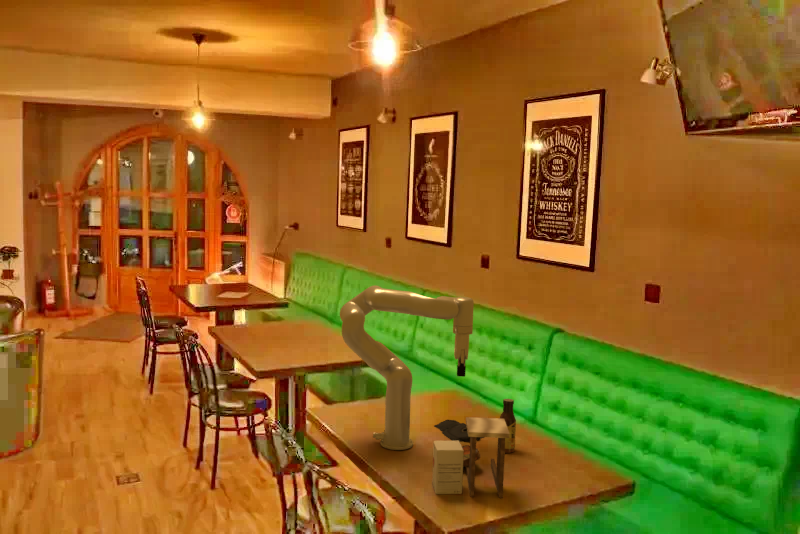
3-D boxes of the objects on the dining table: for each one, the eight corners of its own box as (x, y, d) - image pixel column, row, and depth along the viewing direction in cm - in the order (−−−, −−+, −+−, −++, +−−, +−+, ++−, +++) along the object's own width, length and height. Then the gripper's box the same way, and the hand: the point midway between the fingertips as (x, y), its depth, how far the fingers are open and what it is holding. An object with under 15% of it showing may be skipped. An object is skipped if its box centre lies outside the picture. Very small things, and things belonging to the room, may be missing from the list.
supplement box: (431, 482, 232) (432, 439, 230) (457, 482, 232) (459, 439, 231) (435, 494, 223) (436, 450, 221) (462, 494, 223) (464, 449, 222)
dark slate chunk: (458, 424, 293) (458, 413, 293) (488, 441, 274) (489, 429, 274) (427, 429, 286) (427, 418, 286) (456, 447, 267) (456, 435, 266)
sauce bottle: (514, 454, 259) (516, 403, 257) (497, 453, 260) (499, 401, 258) (514, 448, 266) (517, 398, 263) (498, 446, 267) (500, 397, 265)
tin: (481, 450, 241) (461, 461, 238) (485, 458, 241) (464, 469, 238) (464, 443, 255) (445, 453, 252) (468, 451, 255) (448, 461, 253)
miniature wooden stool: (466, 496, 222) (468, 432, 220) (461, 464, 249) (463, 406, 246) (506, 498, 221) (509, 433, 219) (497, 465, 248) (500, 407, 246)
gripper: (452, 325, 272) (450, 370, 274) (453, 332, 257) (452, 380, 259) (471, 325, 272) (469, 371, 274) (474, 333, 257) (472, 381, 259)
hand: (461, 375), depth 267 cm, fingers closed
